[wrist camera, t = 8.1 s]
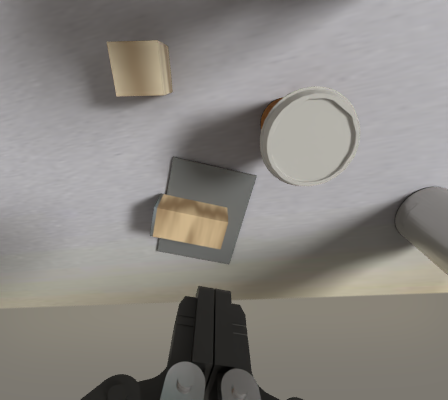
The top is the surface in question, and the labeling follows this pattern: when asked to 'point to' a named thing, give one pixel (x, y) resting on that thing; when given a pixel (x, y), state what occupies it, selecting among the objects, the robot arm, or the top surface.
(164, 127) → the top surface
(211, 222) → the oak block
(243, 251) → the top surface
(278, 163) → the disposable coffee cup
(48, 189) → the top surface
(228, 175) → the mat
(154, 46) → the maple block
